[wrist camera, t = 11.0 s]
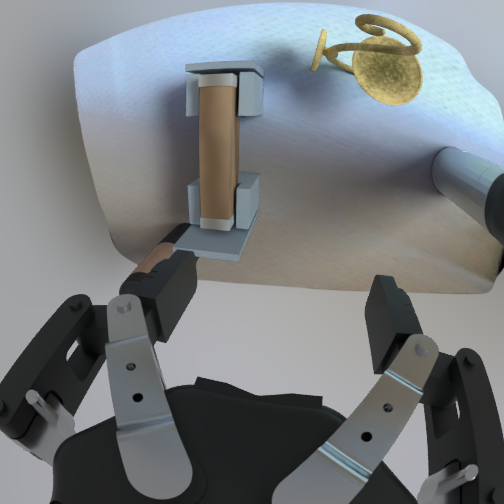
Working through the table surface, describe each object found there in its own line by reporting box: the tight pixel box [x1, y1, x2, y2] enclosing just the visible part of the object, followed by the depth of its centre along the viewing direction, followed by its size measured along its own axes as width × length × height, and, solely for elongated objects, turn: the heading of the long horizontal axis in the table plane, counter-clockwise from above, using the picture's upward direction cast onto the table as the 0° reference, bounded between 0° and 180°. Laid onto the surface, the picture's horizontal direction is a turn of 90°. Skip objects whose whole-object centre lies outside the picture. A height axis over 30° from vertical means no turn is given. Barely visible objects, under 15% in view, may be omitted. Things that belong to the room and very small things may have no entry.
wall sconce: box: [311, 14, 423, 105], centre depth 22 cm, size 14×10×25 cm
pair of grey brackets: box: [173, 61, 264, 262], centre depth 36 cm, size 9×25×16 cm, turn 178°
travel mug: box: [119, 223, 199, 295], centre depth 45 cm, size 8×8×20 cm
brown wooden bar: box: [198, 73, 240, 231], centre depth 35 cm, size 4×21×6 cm, turn 178°
